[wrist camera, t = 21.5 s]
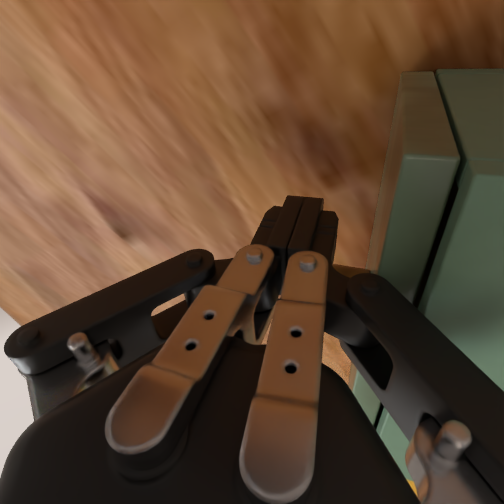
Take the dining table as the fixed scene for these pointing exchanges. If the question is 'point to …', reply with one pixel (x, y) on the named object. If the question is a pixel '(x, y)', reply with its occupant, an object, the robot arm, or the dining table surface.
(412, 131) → the drawer
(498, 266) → the cabinet
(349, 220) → the dining table surface
